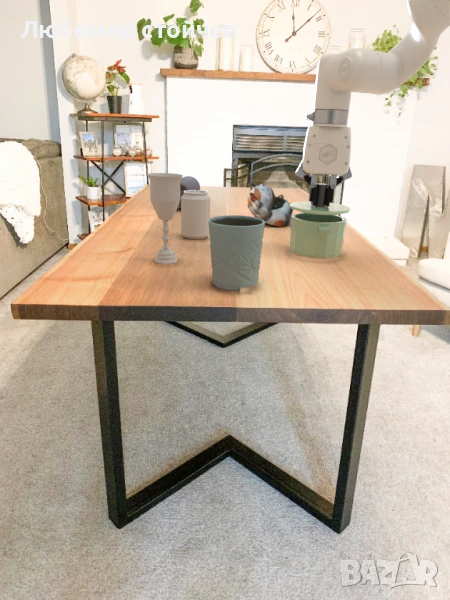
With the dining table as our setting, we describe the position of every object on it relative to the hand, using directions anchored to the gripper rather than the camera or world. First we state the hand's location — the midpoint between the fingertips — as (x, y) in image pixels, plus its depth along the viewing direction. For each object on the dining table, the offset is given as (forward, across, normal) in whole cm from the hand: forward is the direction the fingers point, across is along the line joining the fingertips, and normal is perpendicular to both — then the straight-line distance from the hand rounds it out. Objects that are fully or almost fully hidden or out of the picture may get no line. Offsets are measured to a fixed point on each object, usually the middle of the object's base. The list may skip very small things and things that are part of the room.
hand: (320, 204), depth 102 cm
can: (+12, -30, +11) cm, 34 cm away
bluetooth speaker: (+12, -39, +58) cm, 71 cm away
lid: (+1, 0, 0) cm, 1 cm away
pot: (+11, 0, 0) cm, 11 cm away
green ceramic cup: (+12, -19, -25) cm, 34 cm away
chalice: (+12, -34, -12) cm, 38 cm away
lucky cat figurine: (+12, -9, +33) cm, 36 cm away
